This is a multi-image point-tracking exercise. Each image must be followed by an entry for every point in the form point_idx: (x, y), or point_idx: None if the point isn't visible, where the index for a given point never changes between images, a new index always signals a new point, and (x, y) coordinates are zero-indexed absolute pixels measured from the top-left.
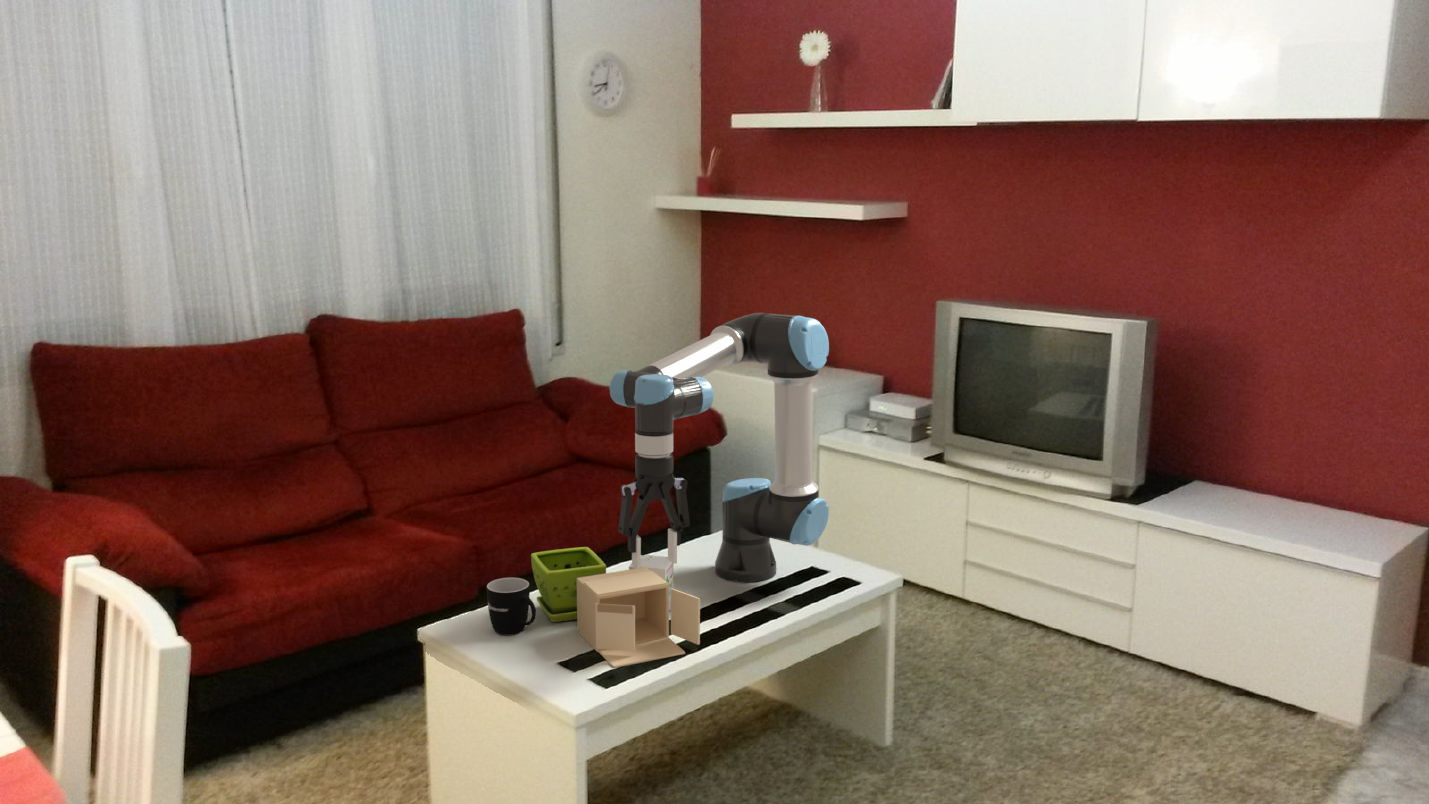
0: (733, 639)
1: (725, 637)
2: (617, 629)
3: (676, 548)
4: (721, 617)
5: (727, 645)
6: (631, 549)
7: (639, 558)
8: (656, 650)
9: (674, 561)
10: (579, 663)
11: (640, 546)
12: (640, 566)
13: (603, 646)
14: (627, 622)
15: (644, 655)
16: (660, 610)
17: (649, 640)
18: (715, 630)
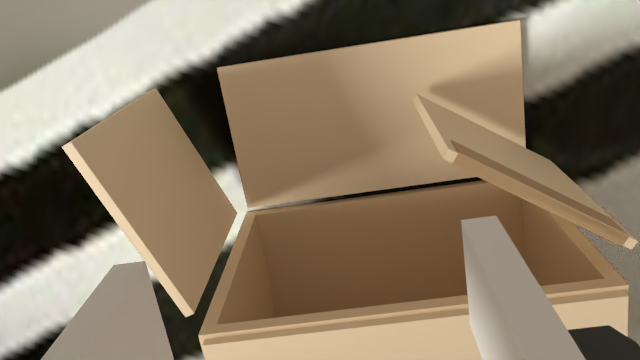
0: (14, 139)
1: (40, 165)
2: (498, 148)
3: (54, 347)
4: (28, 324)
5: (44, 94)
6: (629, 354)
7: (500, 266)
8: (320, 113)
9: (129, 272)
10: (625, 101)
11: (529, 352)
12: (468, 231)
13: (528, 151)
14: (464, 138)
15: (376, 81)
16: (253, 305)
17: (322, 205)
18: (67, 231)
